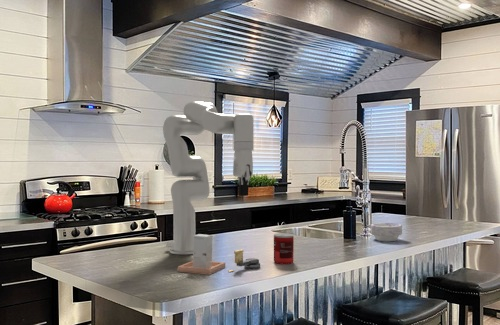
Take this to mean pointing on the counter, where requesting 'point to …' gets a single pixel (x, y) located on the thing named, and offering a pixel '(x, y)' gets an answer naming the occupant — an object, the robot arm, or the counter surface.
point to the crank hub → (252, 266)
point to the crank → (240, 259)
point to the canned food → (283, 248)
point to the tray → (189, 268)
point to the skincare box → (202, 251)
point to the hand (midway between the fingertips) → (243, 195)
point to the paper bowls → (386, 231)
